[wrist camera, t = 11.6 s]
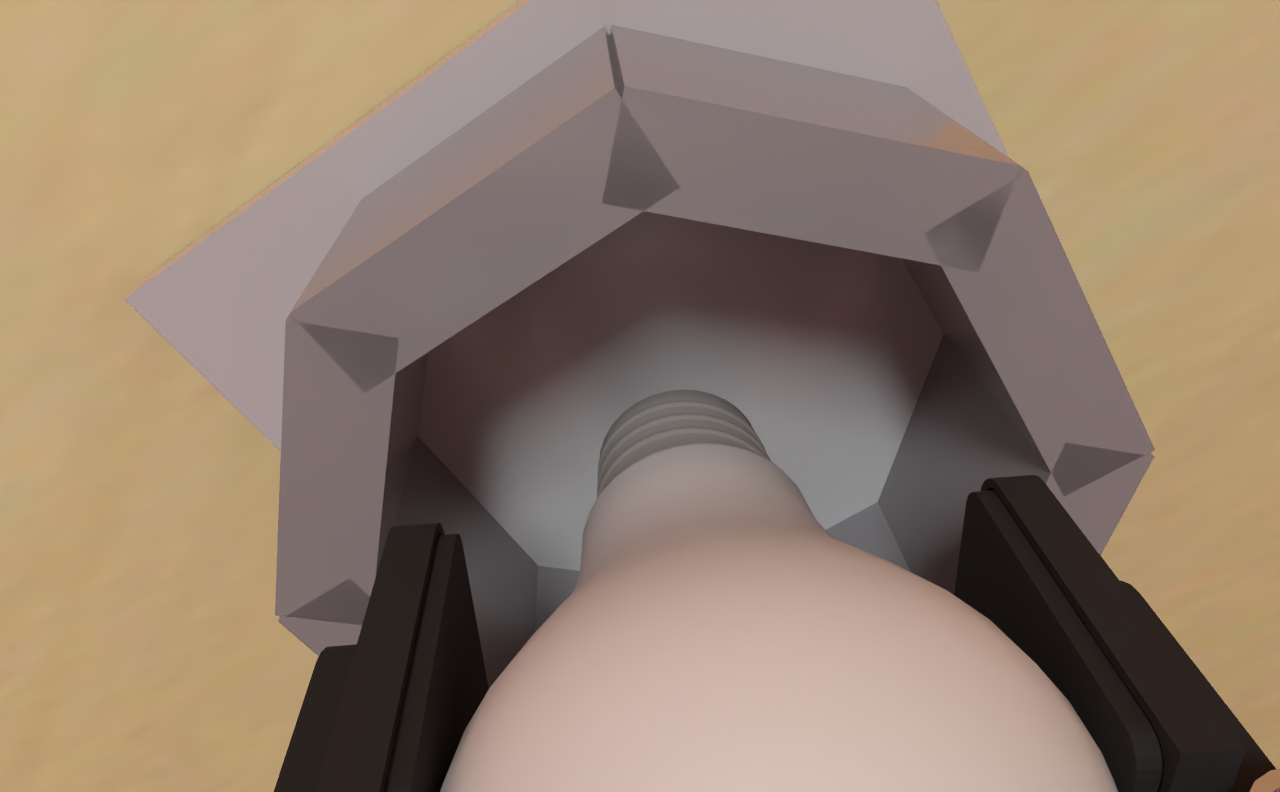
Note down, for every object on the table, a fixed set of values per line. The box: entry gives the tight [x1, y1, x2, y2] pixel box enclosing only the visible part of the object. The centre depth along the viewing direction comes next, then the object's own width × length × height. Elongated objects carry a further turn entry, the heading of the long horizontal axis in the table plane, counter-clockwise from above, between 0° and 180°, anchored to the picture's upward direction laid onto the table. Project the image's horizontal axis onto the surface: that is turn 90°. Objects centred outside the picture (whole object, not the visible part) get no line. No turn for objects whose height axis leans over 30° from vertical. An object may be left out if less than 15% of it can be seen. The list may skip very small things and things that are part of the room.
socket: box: [124, 0, 1155, 688], centre depth 14 cm, size 12×12×5 cm
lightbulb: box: [440, 390, 1118, 792], centre depth 11 cm, size 6×6×11 cm
